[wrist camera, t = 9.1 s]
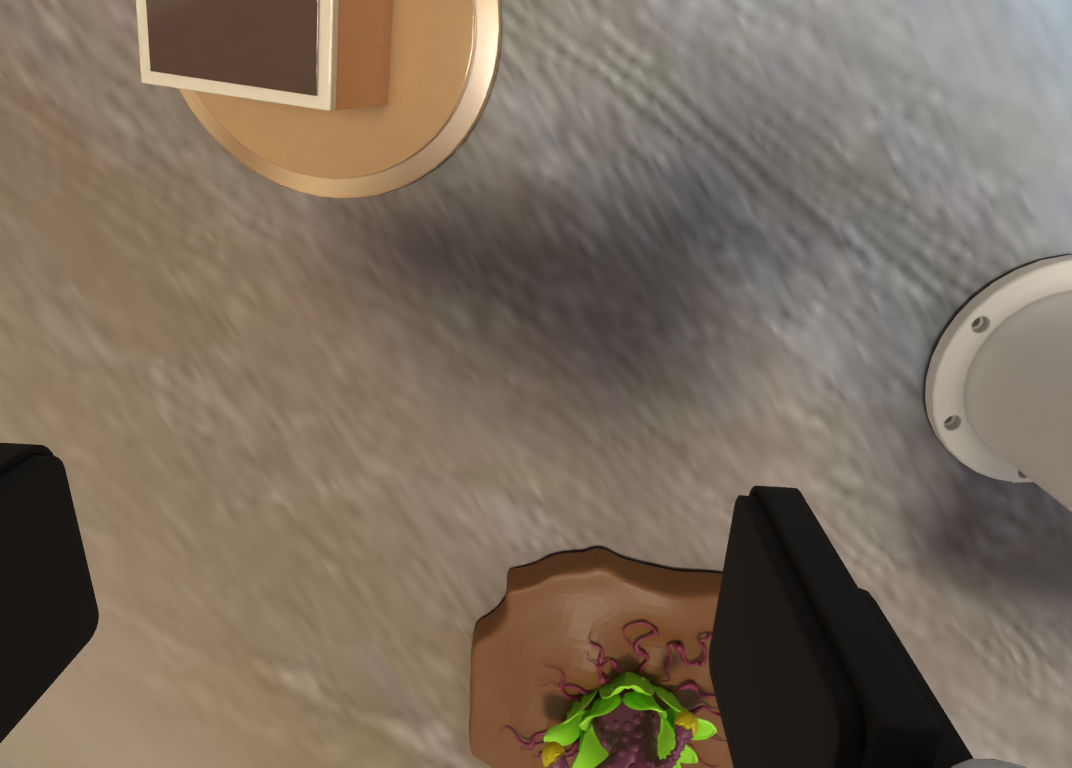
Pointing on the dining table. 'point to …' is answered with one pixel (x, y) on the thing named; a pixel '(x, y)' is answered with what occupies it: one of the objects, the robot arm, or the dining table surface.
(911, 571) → the dining table surface
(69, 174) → the dining table surface
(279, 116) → the orange block with handle
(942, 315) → the dining table surface
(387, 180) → the turntable base
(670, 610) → the plant
